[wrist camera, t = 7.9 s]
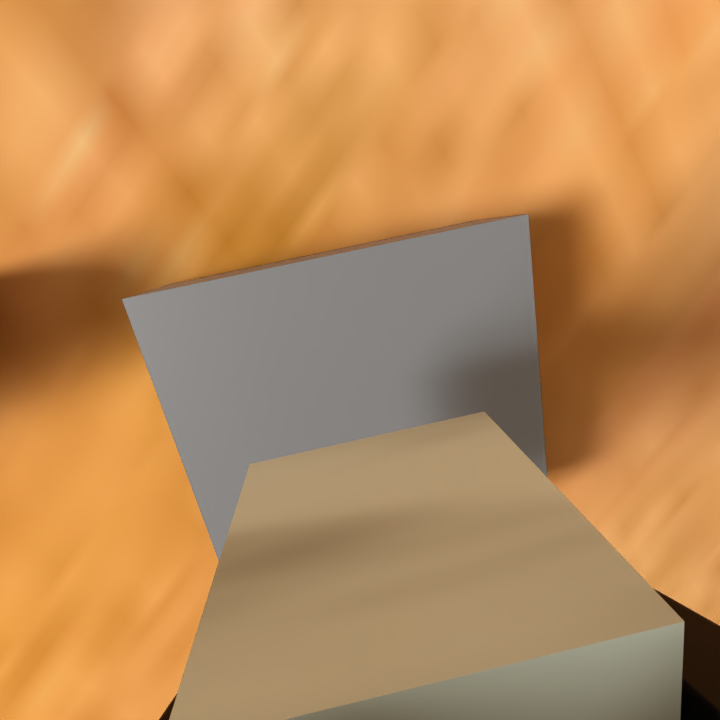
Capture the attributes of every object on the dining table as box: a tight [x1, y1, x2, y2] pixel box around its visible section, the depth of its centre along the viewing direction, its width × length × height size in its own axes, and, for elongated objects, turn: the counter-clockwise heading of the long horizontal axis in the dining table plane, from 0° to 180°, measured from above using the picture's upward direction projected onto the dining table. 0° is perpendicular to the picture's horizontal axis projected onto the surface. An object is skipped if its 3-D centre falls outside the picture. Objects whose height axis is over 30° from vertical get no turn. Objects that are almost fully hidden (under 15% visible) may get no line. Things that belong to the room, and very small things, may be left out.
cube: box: [169, 412, 684, 720], centre depth 7 cm, size 5×5×5 cm
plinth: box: [122, 214, 547, 560], centre depth 16 cm, size 12×12×4 cm
